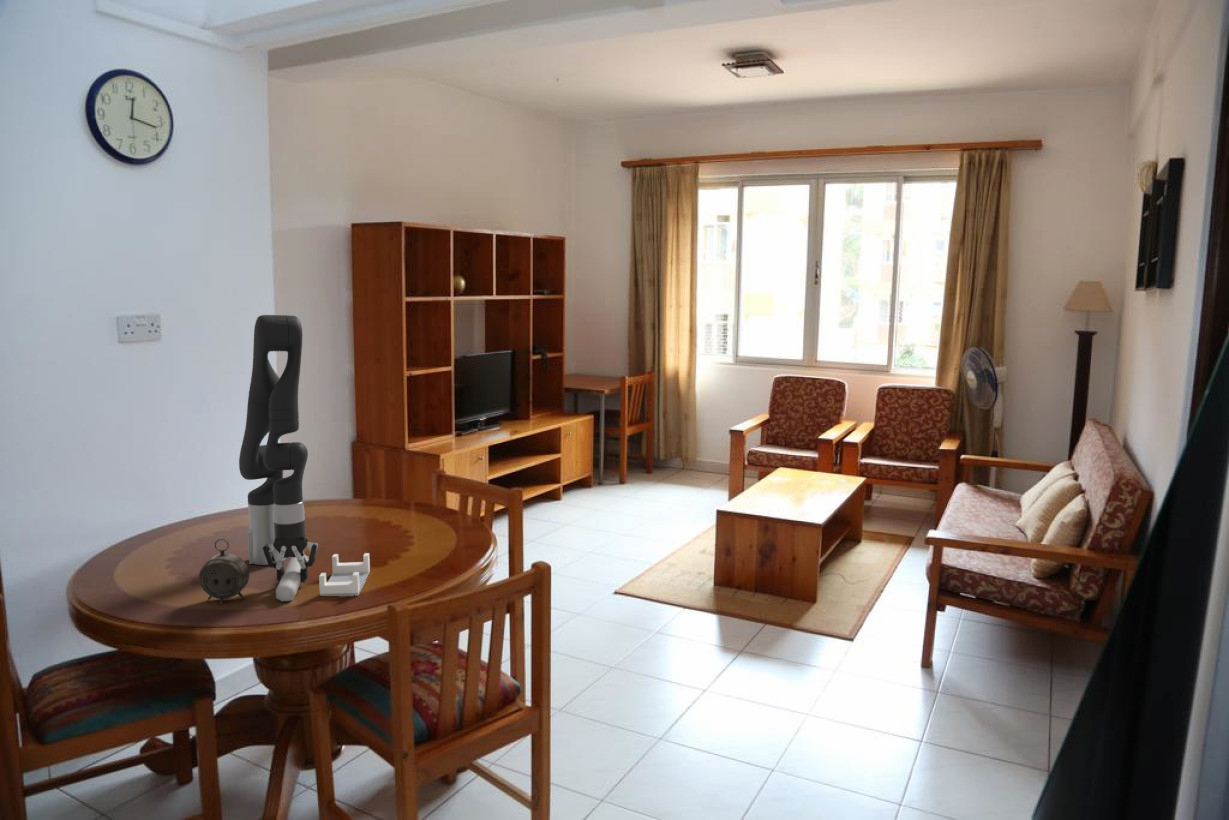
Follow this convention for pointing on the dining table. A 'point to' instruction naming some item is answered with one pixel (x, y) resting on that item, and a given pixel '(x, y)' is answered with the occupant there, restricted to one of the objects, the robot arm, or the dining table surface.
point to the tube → (289, 581)
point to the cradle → (345, 577)
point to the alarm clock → (224, 575)
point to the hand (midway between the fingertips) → (292, 581)
